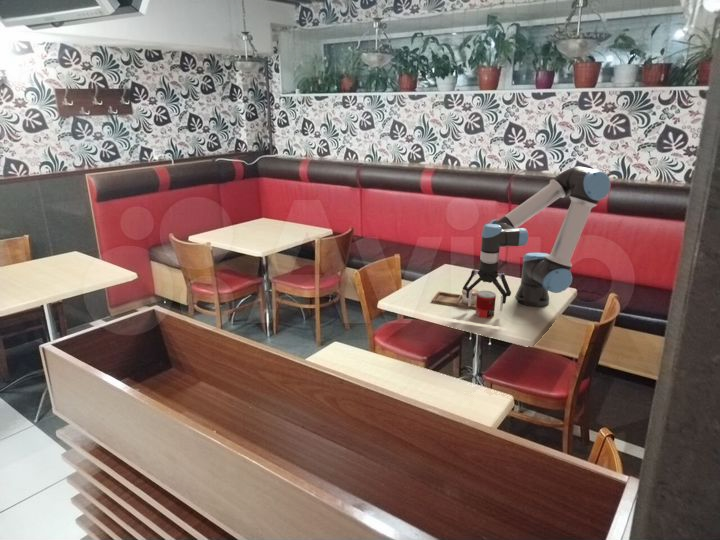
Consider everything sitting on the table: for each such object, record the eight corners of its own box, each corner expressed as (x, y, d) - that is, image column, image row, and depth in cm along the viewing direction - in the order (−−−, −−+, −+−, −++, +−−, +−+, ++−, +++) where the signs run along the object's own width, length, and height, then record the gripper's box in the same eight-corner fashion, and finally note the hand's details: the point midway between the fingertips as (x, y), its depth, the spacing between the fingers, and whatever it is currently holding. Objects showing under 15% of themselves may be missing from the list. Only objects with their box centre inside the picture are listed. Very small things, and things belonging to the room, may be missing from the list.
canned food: (490, 322, 229) (492, 298, 225) (472, 318, 233) (474, 294, 229) (496, 316, 235) (498, 292, 231) (478, 312, 239) (480, 289, 235)
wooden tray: (484, 303, 249) (484, 298, 248) (479, 312, 239) (479, 307, 238) (438, 296, 257) (438, 291, 256) (431, 304, 247) (431, 299, 246)
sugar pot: (479, 301, 248) (480, 286, 245) (476, 307, 241) (477, 292, 239) (463, 299, 250) (464, 284, 248) (459, 304, 244) (460, 289, 241)
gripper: (520, 262, 224) (515, 309, 231) (461, 255, 233) (458, 300, 240) (518, 267, 218) (513, 315, 224) (457, 259, 227) (454, 306, 233)
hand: (485, 307), depth 232 cm, fingers open, 13 cm apart
